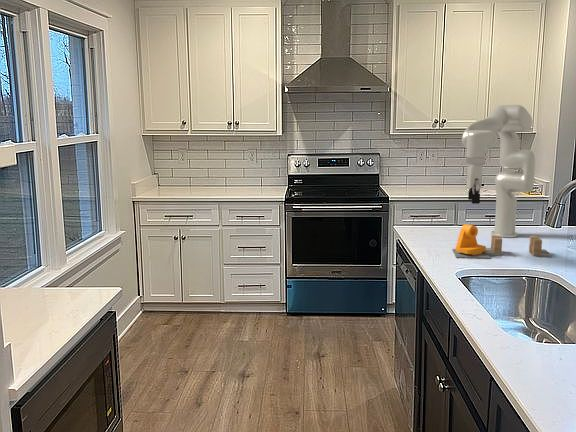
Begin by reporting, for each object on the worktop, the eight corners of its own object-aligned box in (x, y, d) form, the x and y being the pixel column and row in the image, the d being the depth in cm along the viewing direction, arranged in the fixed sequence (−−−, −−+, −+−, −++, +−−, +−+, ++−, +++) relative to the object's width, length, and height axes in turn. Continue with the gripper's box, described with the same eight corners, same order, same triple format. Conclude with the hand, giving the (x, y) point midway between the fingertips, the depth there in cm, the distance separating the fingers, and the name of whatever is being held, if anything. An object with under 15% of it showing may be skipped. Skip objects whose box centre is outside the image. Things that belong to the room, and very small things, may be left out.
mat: (452, 250, 250) (452, 248, 250) (485, 251, 248) (485, 249, 248) (456, 257, 237) (456, 256, 237) (490, 258, 234) (491, 257, 234)
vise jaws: (480, 249, 250) (481, 234, 249) (545, 251, 246) (546, 236, 244) (484, 255, 240) (485, 239, 239) (551, 257, 236) (552, 241, 235)
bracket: (468, 256, 236) (468, 228, 234) (455, 253, 242) (456, 225, 240) (486, 252, 241) (487, 225, 239) (473, 249, 247) (474, 222, 245)
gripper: (463, 159, 244) (462, 198, 247) (469, 163, 227) (467, 205, 231) (481, 159, 243) (479, 198, 246) (488, 163, 226) (486, 205, 229)
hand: (473, 201), depth 238 cm, fingers open, 9 cm apart
